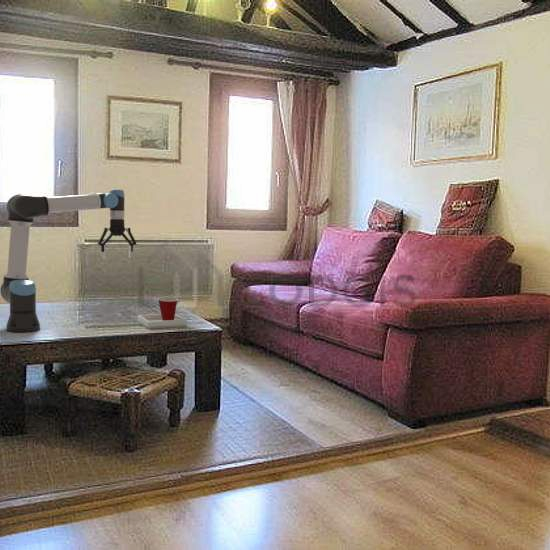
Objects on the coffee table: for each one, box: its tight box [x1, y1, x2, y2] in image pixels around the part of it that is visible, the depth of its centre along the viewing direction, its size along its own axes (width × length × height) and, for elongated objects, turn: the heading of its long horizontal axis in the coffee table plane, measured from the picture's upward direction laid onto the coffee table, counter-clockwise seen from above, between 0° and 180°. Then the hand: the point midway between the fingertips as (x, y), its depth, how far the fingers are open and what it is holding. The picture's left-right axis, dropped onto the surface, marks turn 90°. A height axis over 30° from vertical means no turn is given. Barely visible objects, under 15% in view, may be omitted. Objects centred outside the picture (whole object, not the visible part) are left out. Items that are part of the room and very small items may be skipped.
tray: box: [137, 313, 188, 330], centre depth 332 cm, size 20×20×4 cm
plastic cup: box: [157, 296, 179, 321], centre depth 335 cm, size 11×11×12 cm
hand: (117, 258), depth 349 cm, fingers open, 13 cm apart
